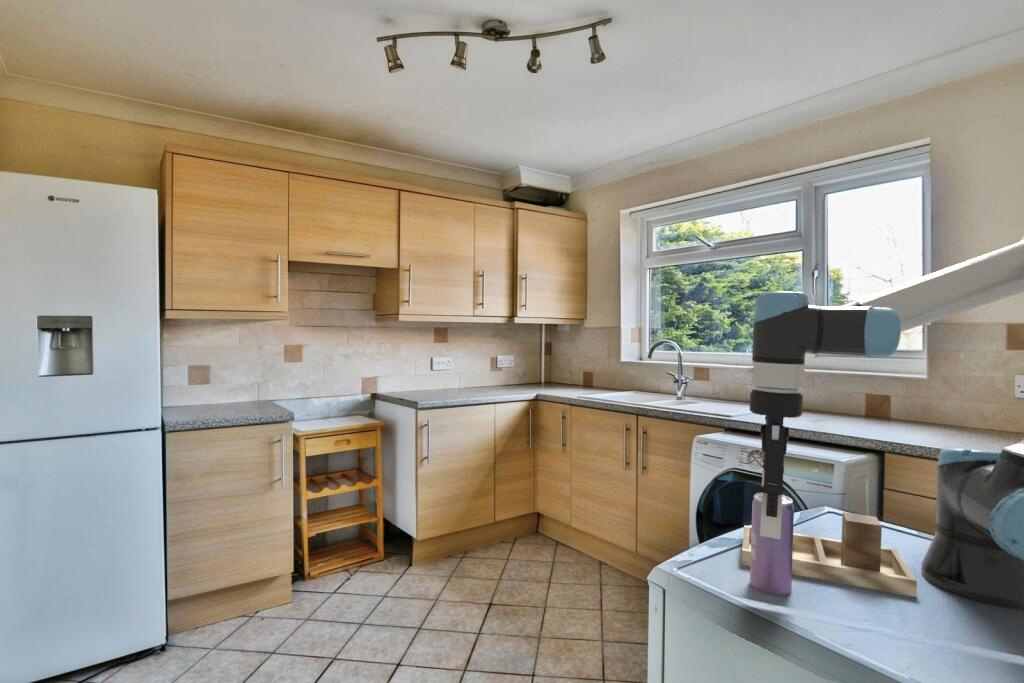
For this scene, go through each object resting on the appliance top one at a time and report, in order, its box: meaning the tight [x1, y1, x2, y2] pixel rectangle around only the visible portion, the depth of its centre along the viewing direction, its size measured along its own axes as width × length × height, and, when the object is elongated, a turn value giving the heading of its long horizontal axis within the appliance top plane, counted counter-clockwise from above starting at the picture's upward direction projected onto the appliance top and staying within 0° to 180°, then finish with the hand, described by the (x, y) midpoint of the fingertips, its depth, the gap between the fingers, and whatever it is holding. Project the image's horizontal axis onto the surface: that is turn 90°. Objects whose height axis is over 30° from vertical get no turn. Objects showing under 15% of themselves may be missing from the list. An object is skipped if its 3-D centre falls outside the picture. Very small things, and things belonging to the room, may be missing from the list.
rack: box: [741, 524, 918, 598], centre depth 96 cm, size 25×14×3 cm, turn 65°
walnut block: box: [841, 512, 883, 572], centre depth 93 cm, size 5×5×9 cm
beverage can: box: [749, 492, 795, 597], centre depth 86 cm, size 6×6×15 cm
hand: (769, 523), depth 86 cm, fingers open, 13 cm apart
